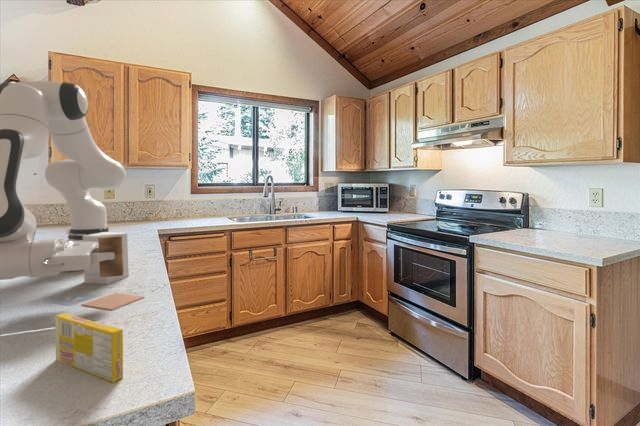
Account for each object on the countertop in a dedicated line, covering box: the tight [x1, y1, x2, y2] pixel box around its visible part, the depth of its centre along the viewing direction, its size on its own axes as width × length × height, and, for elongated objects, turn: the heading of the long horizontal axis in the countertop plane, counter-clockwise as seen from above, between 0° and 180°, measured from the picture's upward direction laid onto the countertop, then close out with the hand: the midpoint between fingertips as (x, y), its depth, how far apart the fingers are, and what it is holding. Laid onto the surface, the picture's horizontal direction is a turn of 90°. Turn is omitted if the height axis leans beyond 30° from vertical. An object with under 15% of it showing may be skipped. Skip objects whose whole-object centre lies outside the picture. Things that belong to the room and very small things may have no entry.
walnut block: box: [98, 234, 124, 277], centre depth 92 cm, size 5×5×10 cm
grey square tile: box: [44, 291, 102, 307], centre depth 95 cm, size 9×9×1 cm
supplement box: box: [83, 231, 129, 285], centre depth 113 cm, size 9×9×15 cm
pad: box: [81, 292, 145, 311], centre depth 93 cm, size 10×10×1 cm
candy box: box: [54, 312, 124, 384], centre depth 60 cm, size 16×2×8 cm, turn 64°
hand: (115, 253), depth 92 cm, fingers closed on walnut block, 5 cm apart
